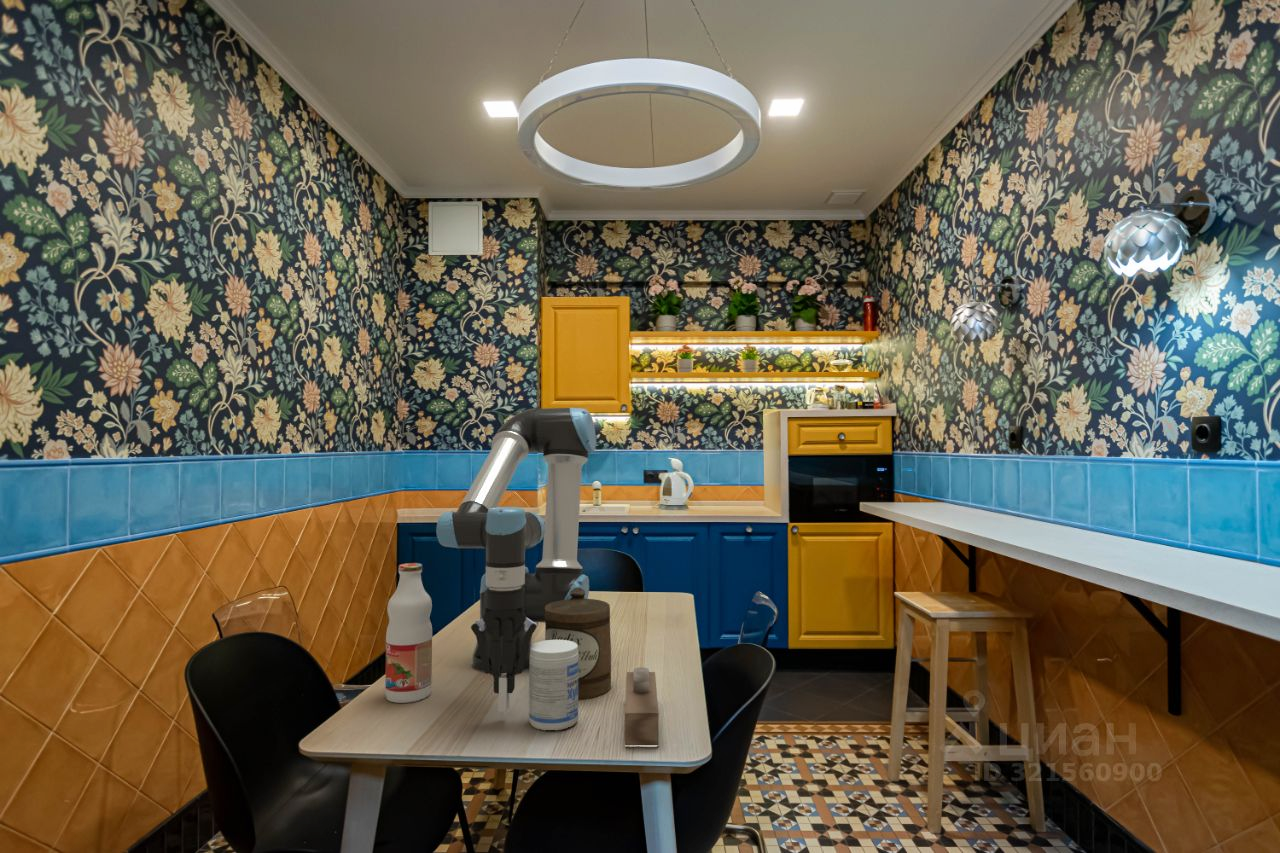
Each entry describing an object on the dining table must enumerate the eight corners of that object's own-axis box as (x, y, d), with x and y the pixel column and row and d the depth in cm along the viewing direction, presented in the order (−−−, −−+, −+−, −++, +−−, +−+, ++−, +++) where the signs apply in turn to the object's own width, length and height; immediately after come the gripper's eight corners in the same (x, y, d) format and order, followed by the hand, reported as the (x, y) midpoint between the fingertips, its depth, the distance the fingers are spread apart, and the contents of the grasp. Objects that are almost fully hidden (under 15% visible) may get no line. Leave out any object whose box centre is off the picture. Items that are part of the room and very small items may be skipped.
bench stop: (624, 747, 116) (624, 690, 117) (626, 700, 138) (626, 652, 139) (658, 747, 116) (658, 690, 117) (655, 700, 138) (655, 652, 139)
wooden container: (532, 694, 142) (532, 592, 143) (562, 673, 156) (563, 579, 157) (594, 703, 137) (595, 597, 138) (620, 680, 151) (621, 584, 152)
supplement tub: (579, 731, 123) (579, 652, 124) (527, 734, 122) (528, 654, 122) (577, 711, 133) (577, 637, 133) (529, 713, 131) (530, 639, 132)
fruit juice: (437, 697, 140) (439, 565, 141) (391, 707, 134) (393, 570, 136) (423, 685, 148) (425, 559, 149) (380, 693, 142) (382, 563, 143)
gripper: (466, 590, 124) (465, 717, 123) (535, 590, 124) (534, 717, 123) (476, 583, 132) (475, 702, 131) (541, 583, 132) (540, 702, 131)
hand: (503, 709), depth 127 cm, fingers closed
